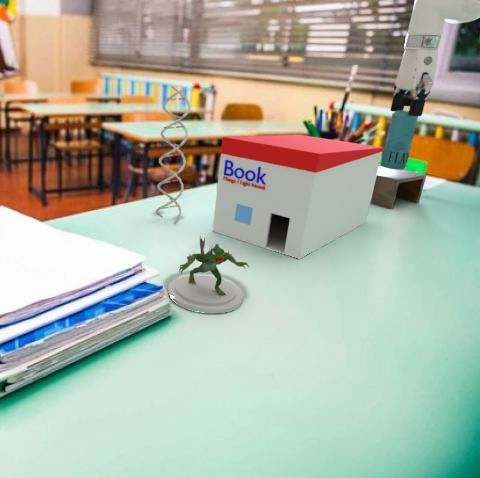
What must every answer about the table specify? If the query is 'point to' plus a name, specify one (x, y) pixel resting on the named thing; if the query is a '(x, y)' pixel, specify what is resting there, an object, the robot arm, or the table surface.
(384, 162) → the beverage bottle
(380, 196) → the shelf
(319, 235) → the bookstore
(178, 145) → the dna model
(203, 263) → the monster figurine
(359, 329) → the table surface
